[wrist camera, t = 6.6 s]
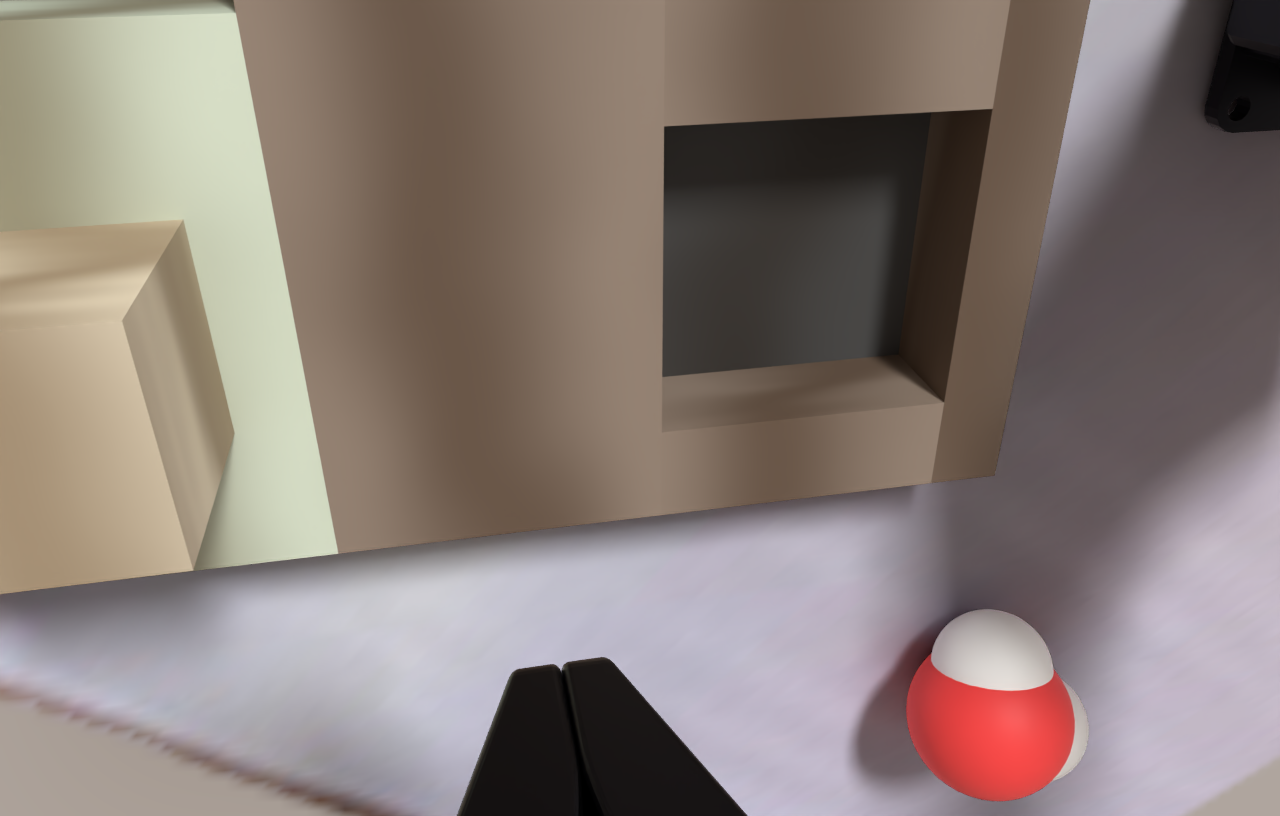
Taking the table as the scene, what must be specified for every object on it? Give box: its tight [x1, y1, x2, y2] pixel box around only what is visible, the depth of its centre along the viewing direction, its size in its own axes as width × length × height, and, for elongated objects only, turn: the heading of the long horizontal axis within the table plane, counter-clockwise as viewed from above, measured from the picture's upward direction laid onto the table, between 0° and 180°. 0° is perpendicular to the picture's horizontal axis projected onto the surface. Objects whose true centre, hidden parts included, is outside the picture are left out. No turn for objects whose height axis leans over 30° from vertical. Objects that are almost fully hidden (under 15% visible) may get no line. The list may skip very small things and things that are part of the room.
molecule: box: [906, 609, 1089, 801], centre depth 27 cm, size 5×5×4 cm
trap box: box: [0, 0, 1090, 589], centre depth 16 cm, size 23×18×4 cm
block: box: [0, 219, 235, 594], centre depth 15 cm, size 4×4×4 cm
